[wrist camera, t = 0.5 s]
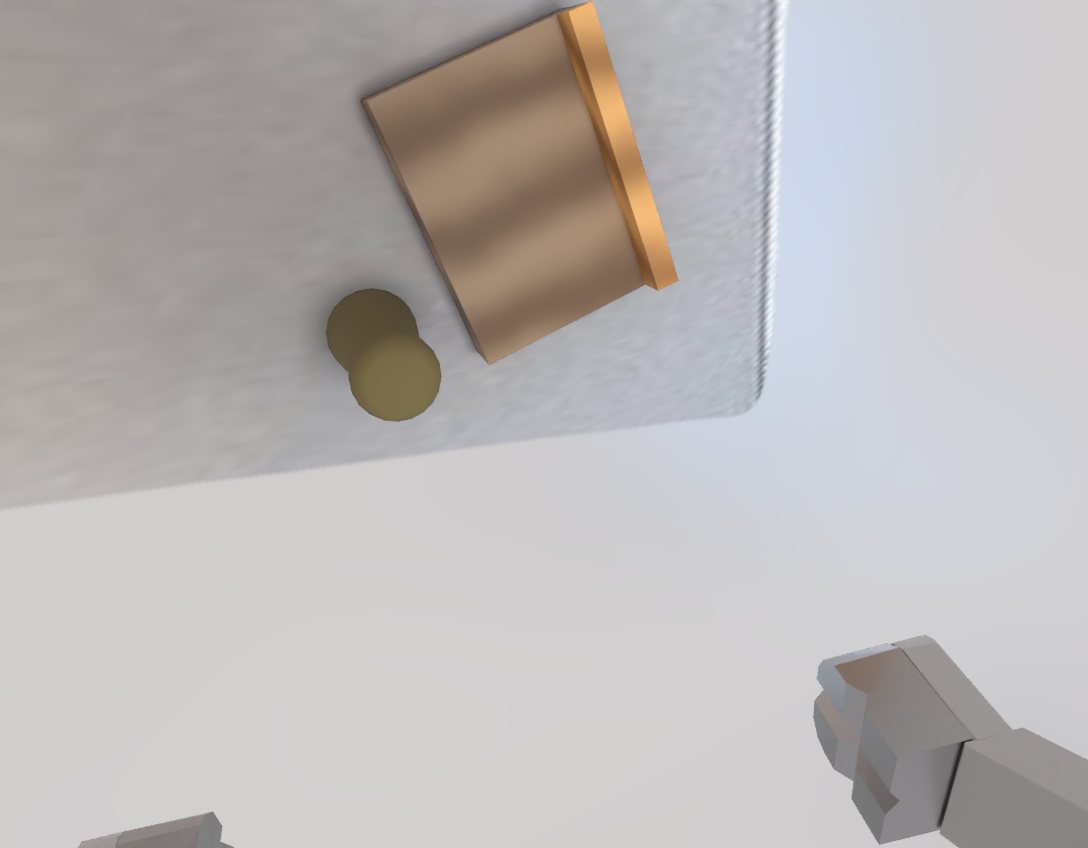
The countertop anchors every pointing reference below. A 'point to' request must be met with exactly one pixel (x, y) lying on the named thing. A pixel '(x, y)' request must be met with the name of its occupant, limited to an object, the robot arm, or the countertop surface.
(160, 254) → the countertop surface
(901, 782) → the robot arm
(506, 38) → the dock
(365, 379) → the cork
